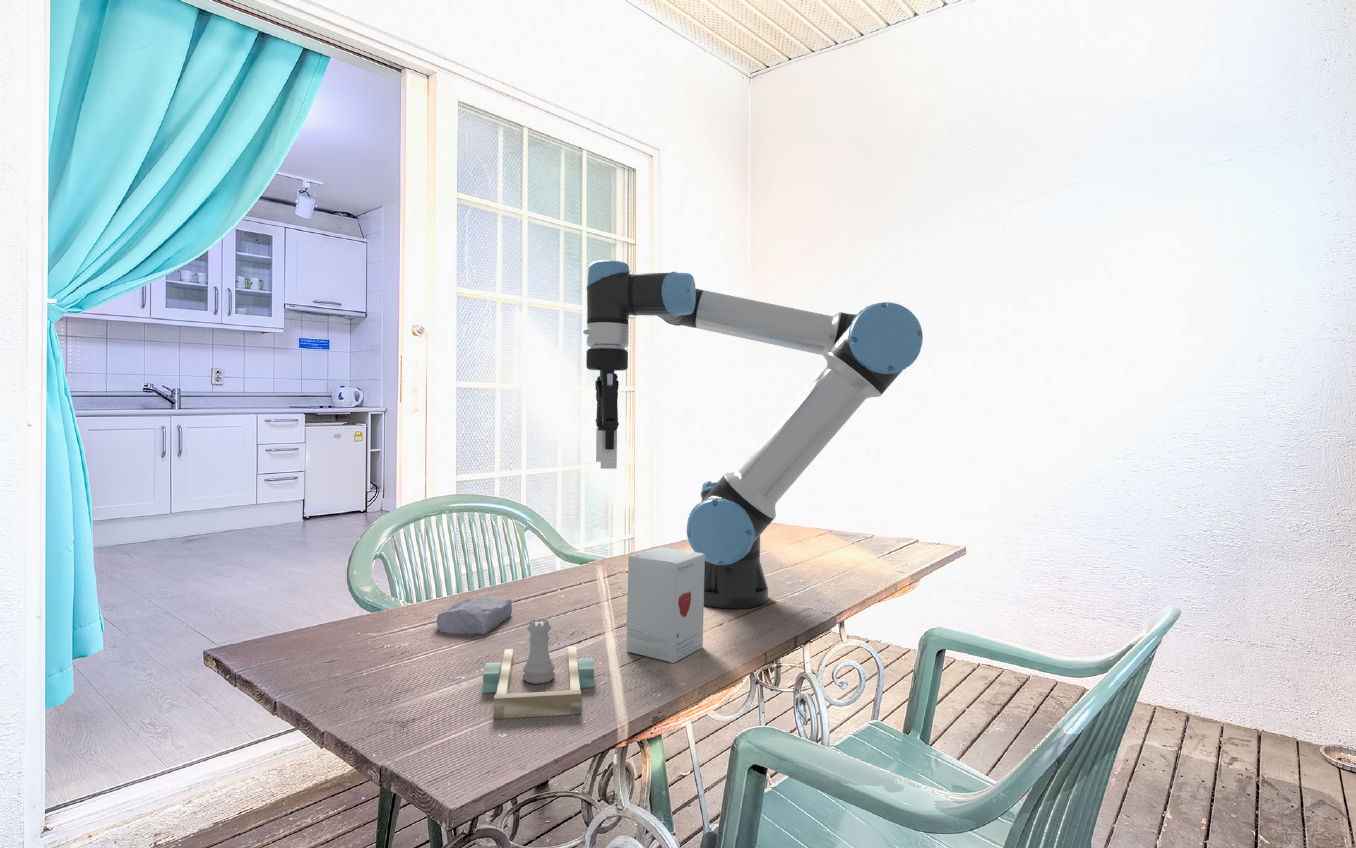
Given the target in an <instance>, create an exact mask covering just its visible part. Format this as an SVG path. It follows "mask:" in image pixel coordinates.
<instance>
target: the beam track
mask: <svg viewBox="0 0 1356 848" xmlns="http://www.w3.org/2000/svg"><path fill="white" fill-rule="evenodd" d="M503 652H504V653H503V659H502V661H497V662H486V663H485V665H484V669H483V673H482V693H483V694H487V693H488V694H489V693H495V694H494V696H493V720H500V719H501V720H502V719H517V718H535V717H551V716H567V715H568V716H569V715H570V716H571V715H582V690H581V688H582V689H585V688H594V687H595V686H594V684H595V683H594V681H595V679H594V678H595V668H594V667H595V666H594V659H593V657H590V658H589V657H585V658H578V654H577V646H575V645H574V646H573V645H572V646H571V645H570V646H567V665H568V669H567V670H568V683H569V686H568V687H569V690H556V691H555V690H554V691H553V690H552V691H551V690H550V691H537V692H535V691H534V692H519V693H518V692H517V693H515V692H514V693H509V688H510V682H511V681H510V680H511V675H512V670H513V669H512V668H513V662H514V649H513V648H506V649H504V651H503Z"/></svg>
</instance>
